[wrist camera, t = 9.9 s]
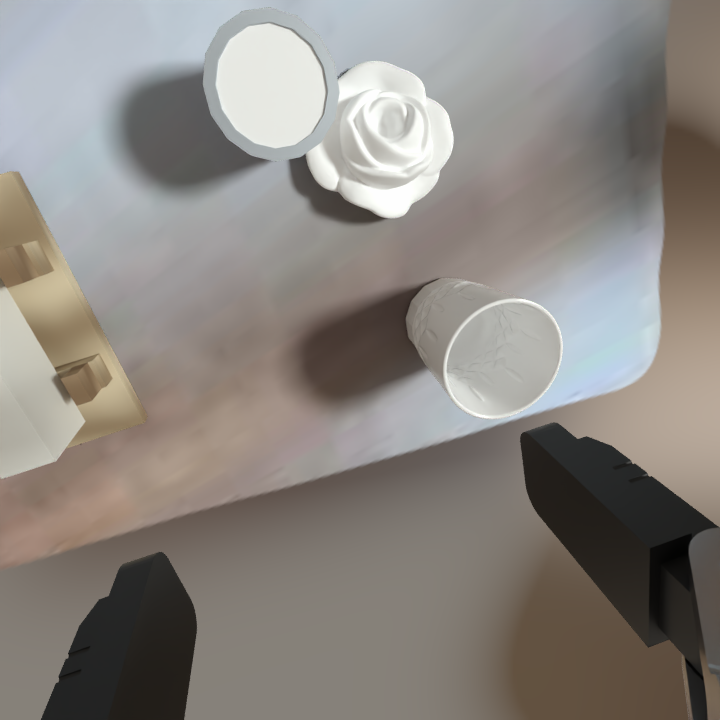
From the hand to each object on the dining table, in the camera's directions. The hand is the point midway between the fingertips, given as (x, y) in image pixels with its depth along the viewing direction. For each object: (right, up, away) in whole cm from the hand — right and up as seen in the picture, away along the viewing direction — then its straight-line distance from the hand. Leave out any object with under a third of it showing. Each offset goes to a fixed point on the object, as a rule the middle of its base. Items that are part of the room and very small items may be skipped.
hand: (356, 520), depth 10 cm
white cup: (+7, +7, +28) cm, 29 cm away
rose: (+1, +18, +22) cm, 29 cm away
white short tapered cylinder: (-6, +20, +20) cm, 29 cm away
